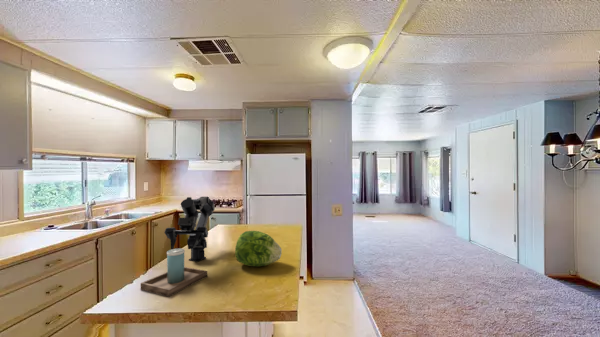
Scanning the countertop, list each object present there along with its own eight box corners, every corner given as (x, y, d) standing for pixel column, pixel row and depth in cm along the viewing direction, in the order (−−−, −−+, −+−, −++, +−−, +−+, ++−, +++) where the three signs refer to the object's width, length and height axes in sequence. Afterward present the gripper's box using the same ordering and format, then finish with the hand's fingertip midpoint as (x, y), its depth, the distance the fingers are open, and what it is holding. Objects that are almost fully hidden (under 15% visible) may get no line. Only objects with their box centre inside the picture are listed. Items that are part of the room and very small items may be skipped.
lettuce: (276, 274, 117) (283, 236, 120) (227, 265, 118) (235, 228, 121) (280, 267, 134) (285, 234, 137) (237, 260, 135) (244, 228, 139)
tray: (140, 289, 101) (140, 283, 101) (181, 271, 120) (181, 266, 120) (168, 296, 95) (168, 289, 95) (207, 276, 114) (207, 271, 114)
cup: (165, 279, 108) (165, 250, 108) (182, 275, 112) (181, 247, 113) (169, 285, 103) (169, 254, 103) (186, 280, 107) (186, 250, 107)
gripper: (166, 210, 120) (154, 240, 108) (206, 210, 121) (199, 239, 110) (173, 224, 127) (163, 252, 116) (210, 223, 129) (204, 251, 118)
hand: (182, 248), depth 115 cm, fingers open, 9 cm apart
